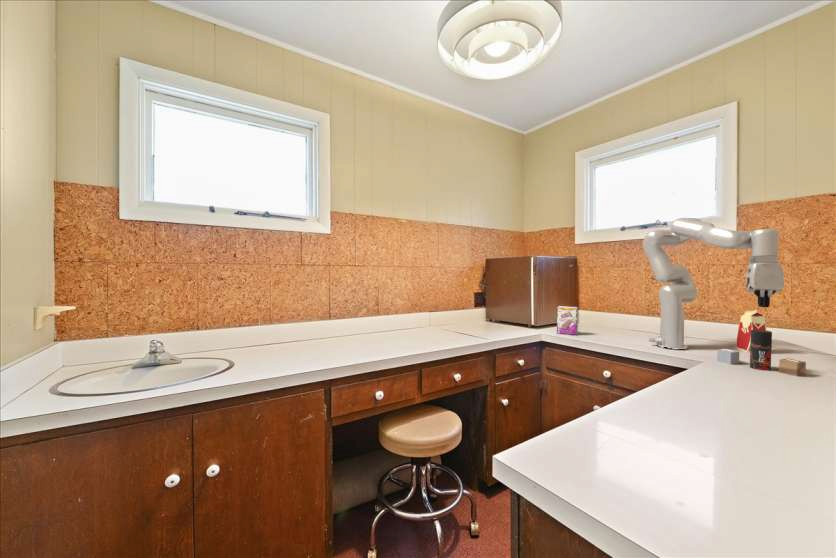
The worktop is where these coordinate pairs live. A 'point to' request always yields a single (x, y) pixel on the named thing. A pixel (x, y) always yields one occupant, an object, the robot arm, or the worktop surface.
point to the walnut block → (792, 367)
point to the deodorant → (760, 349)
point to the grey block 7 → (728, 356)
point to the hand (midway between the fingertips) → (763, 306)
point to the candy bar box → (567, 320)
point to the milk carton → (749, 328)
